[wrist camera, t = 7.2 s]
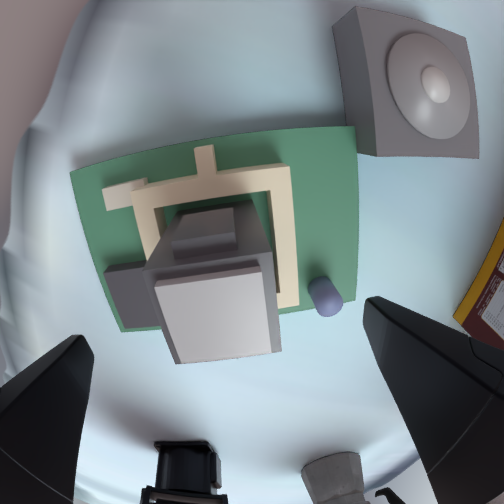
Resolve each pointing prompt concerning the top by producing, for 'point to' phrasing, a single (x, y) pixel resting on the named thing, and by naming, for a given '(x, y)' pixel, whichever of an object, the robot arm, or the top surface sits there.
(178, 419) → the top surface
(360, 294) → the top surface
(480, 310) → the supplement box
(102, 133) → the top surface
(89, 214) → the board
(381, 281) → the top surface
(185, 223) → the plug
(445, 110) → the speaker
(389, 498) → the coffeepot
